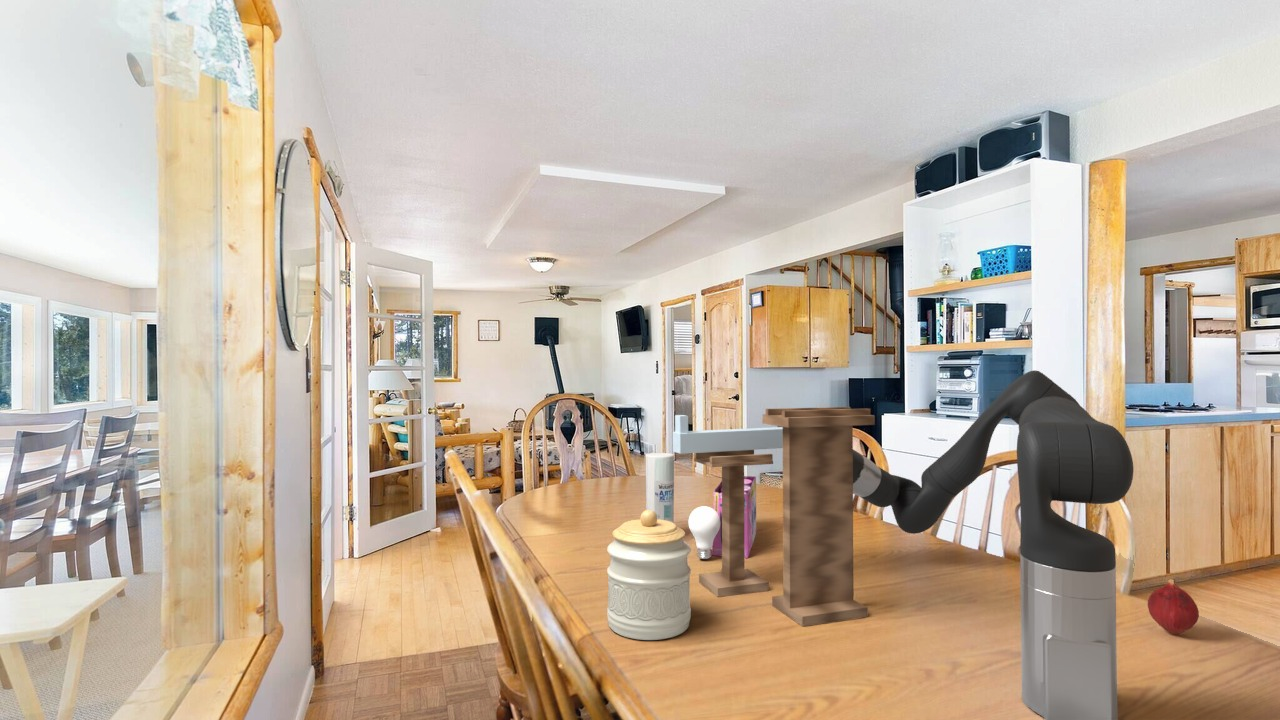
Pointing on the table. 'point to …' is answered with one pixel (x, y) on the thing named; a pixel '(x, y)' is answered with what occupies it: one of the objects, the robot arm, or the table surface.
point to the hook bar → (723, 438)
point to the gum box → (748, 515)
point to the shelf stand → (818, 513)
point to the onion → (1173, 608)
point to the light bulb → (704, 529)
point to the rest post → (733, 524)
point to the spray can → (660, 485)
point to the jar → (648, 579)
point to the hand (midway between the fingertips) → (783, 429)
